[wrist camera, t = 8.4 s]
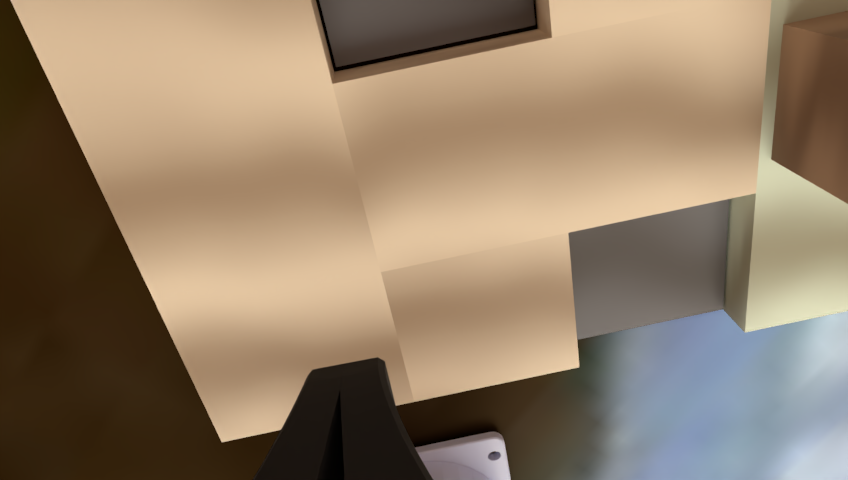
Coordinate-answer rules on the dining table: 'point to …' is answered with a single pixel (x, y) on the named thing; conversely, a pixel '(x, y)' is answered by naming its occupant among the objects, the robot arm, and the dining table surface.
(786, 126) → the walnut block
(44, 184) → the dining table surface
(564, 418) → the dining table surface
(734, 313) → the trap track
